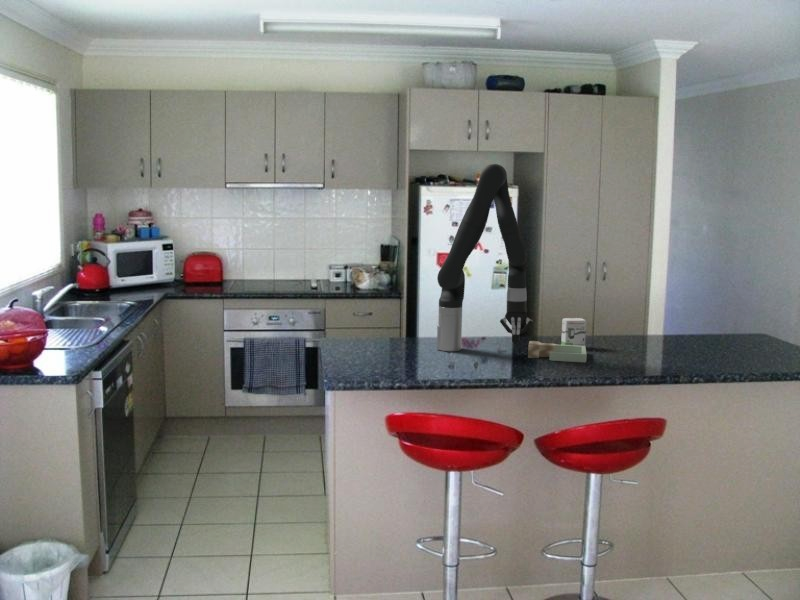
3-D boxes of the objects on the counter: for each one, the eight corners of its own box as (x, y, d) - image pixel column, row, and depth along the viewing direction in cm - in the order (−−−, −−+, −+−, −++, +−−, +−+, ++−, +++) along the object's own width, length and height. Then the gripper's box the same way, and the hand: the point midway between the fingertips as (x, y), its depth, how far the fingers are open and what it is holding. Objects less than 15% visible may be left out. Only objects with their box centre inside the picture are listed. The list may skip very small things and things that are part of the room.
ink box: (564, 349, 340) (566, 320, 338) (560, 346, 345) (561, 318, 343) (585, 348, 341) (586, 320, 339) (580, 346, 346) (582, 317, 344)
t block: (528, 357, 324) (528, 346, 323) (529, 352, 333) (529, 341, 333) (554, 358, 322) (555, 347, 321) (555, 353, 331) (555, 342, 331)
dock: (549, 360, 319) (549, 352, 319) (549, 351, 335) (550, 344, 334) (586, 362, 317) (586, 354, 316) (585, 353, 332) (585, 346, 332)
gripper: (498, 300, 323) (497, 345, 326) (533, 301, 321) (532, 346, 323) (500, 297, 331) (499, 341, 333) (534, 298, 328) (533, 342, 331)
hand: (515, 343), depth 328 cm, fingers closed
